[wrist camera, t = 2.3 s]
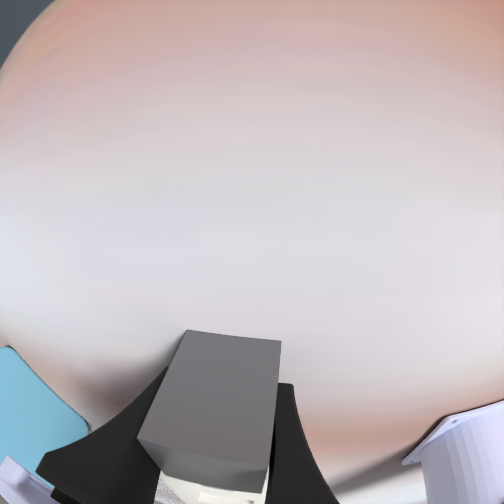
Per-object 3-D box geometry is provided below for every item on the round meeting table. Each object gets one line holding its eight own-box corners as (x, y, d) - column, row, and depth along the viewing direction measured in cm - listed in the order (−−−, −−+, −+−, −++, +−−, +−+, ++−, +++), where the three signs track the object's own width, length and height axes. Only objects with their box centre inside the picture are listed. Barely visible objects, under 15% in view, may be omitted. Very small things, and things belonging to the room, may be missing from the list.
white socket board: (297, 442, 15) (294, 483, 12) (274, 496, 22) (271, 518, 20) (152, 418, 16) (137, 453, 13) (190, 484, 24) (184, 504, 21)
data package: (1, 348, 18) (-55, 419, 7) (7, 338, 17) (-59, 420, 6) (78, 425, 21) (38, 501, 11) (94, 426, 20) (50, 513, 9)
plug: (281, 341, 11) (268, 465, 6) (274, 395, 13) (261, 493, 8) (187, 329, 11) (136, 437, 6) (197, 385, 13) (165, 475, 8)
